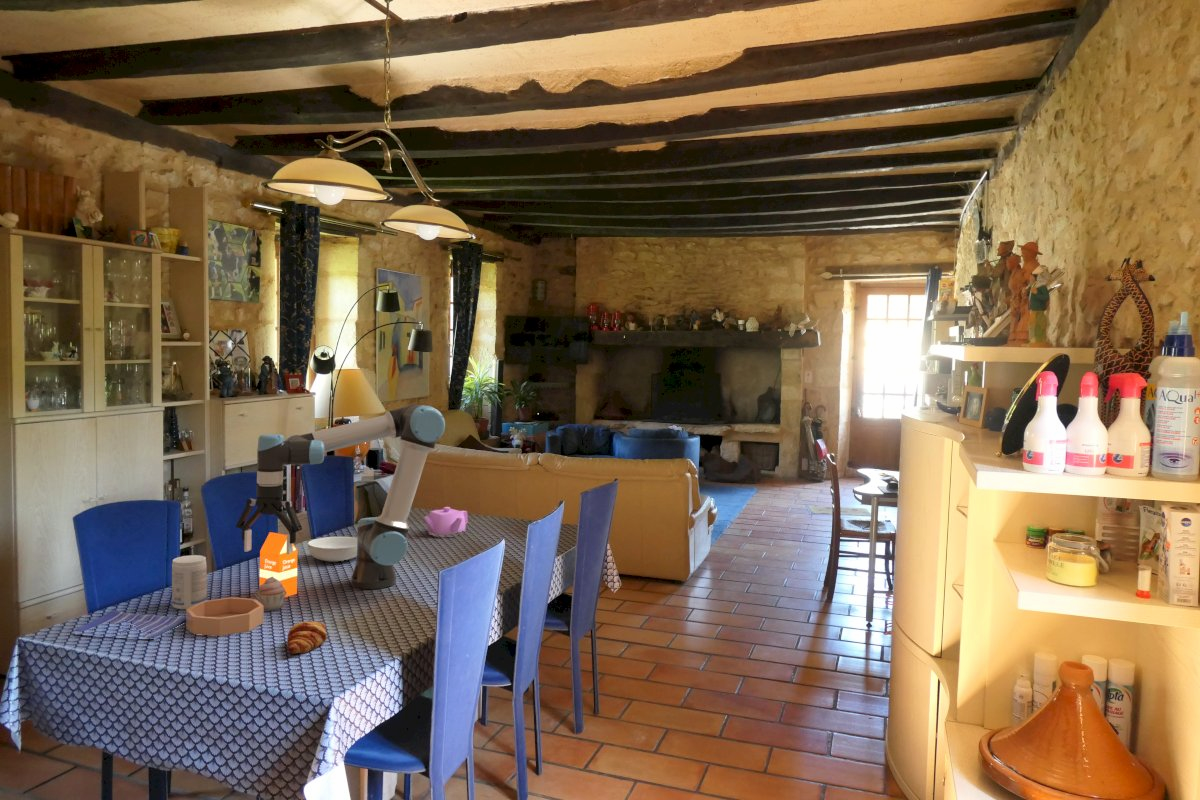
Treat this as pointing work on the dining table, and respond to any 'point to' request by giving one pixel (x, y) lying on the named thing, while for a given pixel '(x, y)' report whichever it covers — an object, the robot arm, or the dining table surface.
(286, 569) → the orange juice
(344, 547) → the serving bowl
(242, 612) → the bowl
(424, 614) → the dining table surface
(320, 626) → the croissant
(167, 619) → the dish towel
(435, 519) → the teakettle
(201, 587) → the supplement tub
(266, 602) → the cupcake
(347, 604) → the dining table surface
